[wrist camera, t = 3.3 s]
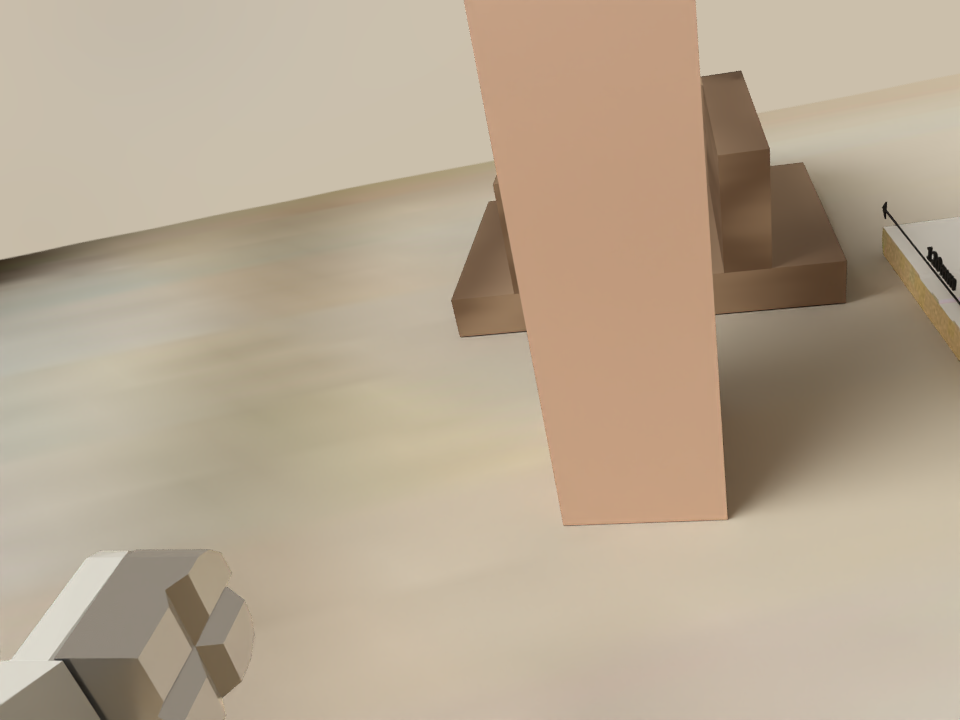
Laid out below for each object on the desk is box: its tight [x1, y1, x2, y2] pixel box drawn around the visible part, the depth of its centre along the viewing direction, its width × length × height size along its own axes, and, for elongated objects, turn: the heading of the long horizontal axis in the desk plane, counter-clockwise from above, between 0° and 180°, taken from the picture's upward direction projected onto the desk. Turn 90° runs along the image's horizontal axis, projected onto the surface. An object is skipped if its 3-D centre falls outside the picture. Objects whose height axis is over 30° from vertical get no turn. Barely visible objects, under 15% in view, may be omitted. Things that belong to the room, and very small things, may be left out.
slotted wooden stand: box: [451, 71, 847, 337], centre depth 32 cm, size 13×9×6 cm
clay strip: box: [464, 0, 728, 525], centre depth 20 cm, size 4×5×14 cm
